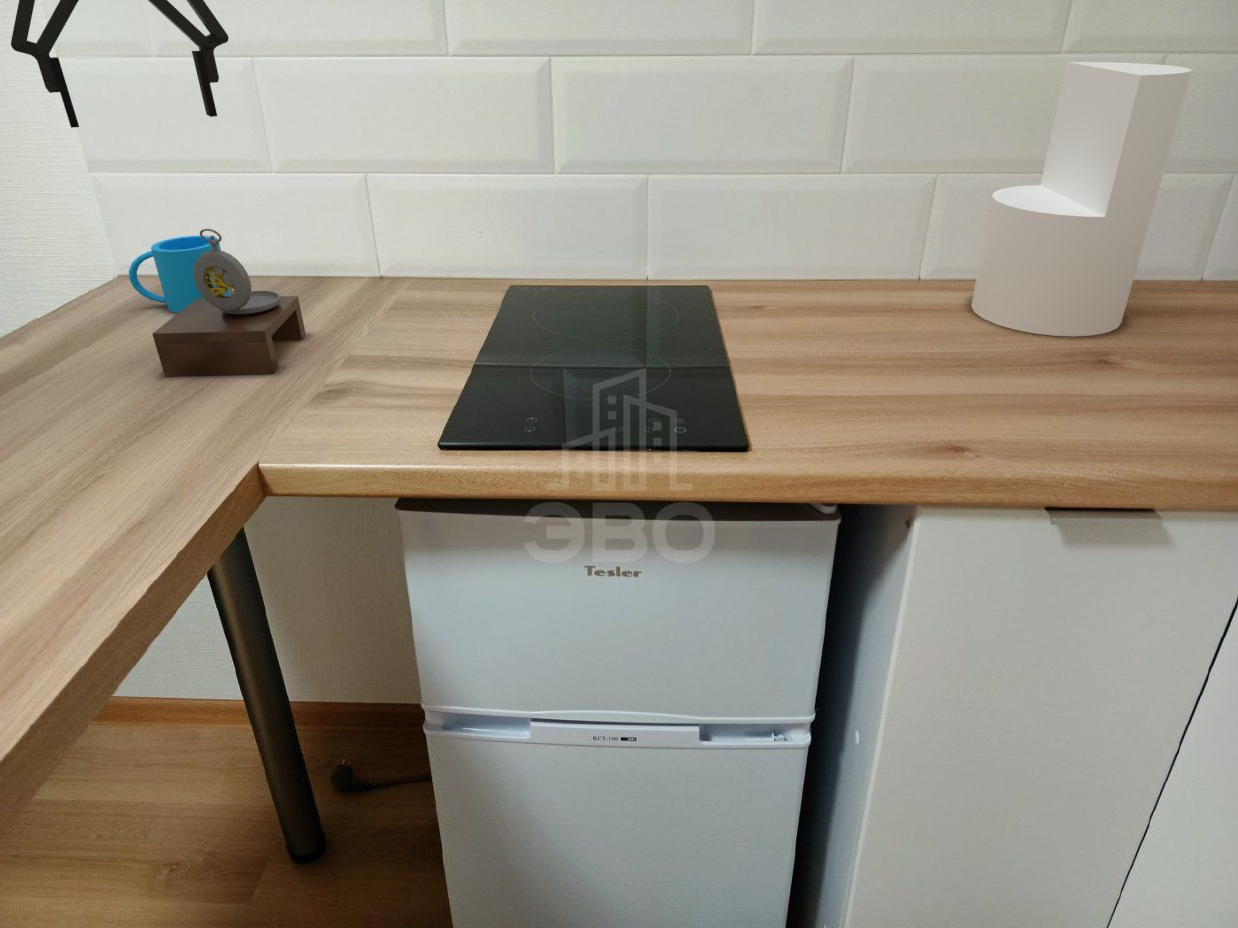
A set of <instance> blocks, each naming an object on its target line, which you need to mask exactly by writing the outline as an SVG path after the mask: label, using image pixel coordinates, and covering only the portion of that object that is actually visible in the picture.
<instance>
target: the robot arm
mask: <svg viewBox="0 0 1238 928" xmlns="http://www.w3.org/2000/svg"><path fill="white" fill-rule="evenodd" d="M79 1H80V0H59V1H58V3H57V5H56V7H55V9H54V10H53V12H52V14H51V16H50V18H49V20H48V21H47V23H46V25H45V27H44V29H43V31H42V32H41V34H40V35H39V37H38V39H37V40H36V42H33V41H30V40H28V39H29V33H30V28H31V22H32V18H33V13H34V8H35V3H36V0H18V4H17V9H16V15H15V19H14V24H13V31H12V34H11V39H10V47H11V48H12V50H13V51H15V52H17V53H21V54H25V55H29V56H32V57H33V58H34V59H35V60H36V62H37V64H38V68H39V72H40V74H41V78H42V81H43V84H44V87H45V89H46V91H47V92H48V93H50V94H51V93H60V96H61V100H62V103H63V106H64V109H65V114H66V116H67V119H68V123H69V126H70V128H71V129H73V128H74V129H75V128H80V125H79V121H78V118H77V115H76V114H77V113H76V112H75V108H74V104H73V102H72V98H71V95H70V91H69V88H68V85H67V82H66V78H65V74H64V72H63V68H62V65H61V62H60V58H59V57H58V56H55V57H54V56H53V57H51V56H50V53H51V52H52V49H53V48H54V46H55V44H56V43H57V40H58V39H59V37H60V35H61V33H62V31H63V30H64V28H65V26H66V24H67V22H68V20H69V19H70V17H71V15H72V13H73V11H74V10H75V8H76V6H77V5H78V3H79ZM147 1H148V2H149V3H150V4H151V5H152V6H153V7H154V8H155V9H156V10H157V11H159V12H160V13H161V14H162V15H163V16H164V17H165V18H166V19H168V21H169V22H171V23H172V25H174V26H175V27H176V28H177V29H178V30H179V31H181V32H182V33H183V35H185V37H187V38H188V39H189V40H190V41H191V42H192V43H193V44H195V45H196V46H197V48H198V50H191V54H192V58H193V62H194V67H195V71H196V76H197V80H198V83H199V88H200V93H201V97H202V101H203V105H204V110H205V114H206V115H207V116H209V117H210V118H212V117H213V118H214V117H218V113H217V107H216V104H215V99H214V94H213V91H212V86H211V84H214V83H219V80H220V75H219V72H218V67H217V66H218V65H217V61H216V58H215V57H216V56H215V49H216V48H217V47H220V46H222V45H224V44H227V43H228V42H229V39H230V38H229V35H228V33H227V32H226V30H225V29H224V28H223V26H222V24H221V23H220V22H219V20H218V19H217V17H216V16H215V15H214V13H213V11H212V10H211V9H210V7H209V6H208V5H207V3H206V1H205V0H186V2H187V3H188V5H189V6H190V7H191V9H192V10H193V12H194V13H195V15H196V16H197V17H198V19H199V20H200V21H201V23H202V25H203V26H204V27H205V29H206V31H208V32H209V34H206V35H205V34H204V33H203V32H202V31H201V30H200V29H199V28H198V27H197V26H196V25H195V24H193V23H192V22H191V21H190V20H189V19H188V18H187V17H186V16H185V15H184V14H182V13H181V12H180V10H178V9H177V8H176V7H175V6H174V5H173V4H172V2H170V1H169V0H147Z"/></svg>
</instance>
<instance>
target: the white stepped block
mask: <svg viewBox="0 0 1238 928" xmlns="http://www.w3.org/2000/svg"><path fill="white" fill-rule="evenodd" d="M1192 73H1193V69H1191V68H1188V67H1184V66H1177V65H1168V64H1157V63H1156V64H1155V63H1142V62H1140V63H1139V62H1117V61H1116V62H1115V61H1113V62H1112V61H1066V63H1065V69H1064V73H1063V78H1062V82H1061V86H1060V92H1059V97H1058V101H1057V106H1056V109H1055V110H1056V111H1055V115H1054V120H1053V124H1052V129H1051V134H1050V137H1049V138H1050V139H1049V142H1048V148H1047V153H1046V157H1045V161H1044V166H1043V171H1042V175H1041V180H1040V184H1032V185H1031V184H1030V185H1017V186H1009V187H1004V188H1001V189H998V190H995V191H994V192H992V195H991V199H990V205H989V206H990V207H989V209H988V210H989V211H988V216H987V221H986V226H985V231H984V238H983V241H982V248H981V253H980V257H979V262H978V268H977V274H976V280H975V284H974V289H973V295H972V301H971V306H970V307H971V309H972V311H973V313H974V314H976V315H977V316H979V317H980V318H982V319H983V320H984V321H985V320H986V321H988V322H990V323H992V324H994V325H997V326H1000V327H1004V328H1007V329H1011V330H1014V331H1019V332H1025V333H1029V334H1036V335H1044V336H1053V337H1088V336H1089V337H1091V336H1097V335H1098V336H1099V335H1103V334H1108V333H1110V332H1112V331H1114V330H1116V329H1117V330H1118V328H1119V327H1120V325H1121V324H1122V323H1123V318H1124V315H1125V311H1126V307H1127V305H1128V300H1129V297H1130V293H1131V290H1132V287H1133V284H1134V283H1133V282H1134V279H1135V275H1136V272H1137V269H1138V265H1139V261H1140V258H1141V255H1142V252H1143V247H1144V243H1145V240H1146V236H1147V233H1148V229H1149V225H1150V222H1151V218H1152V215H1153V212H1154V209H1155V204H1156V201H1157V197H1158V194H1159V190H1160V186H1161V184H1162V183H1161V182H1162V179H1163V176H1164V172H1165V169H1166V165H1167V162H1168V157H1169V155H1170V151H1171V147H1172V144H1173V141H1174V137H1175V133H1176V129H1177V126H1178V123H1179V119H1180V114H1181V112H1182V109H1183V104H1184V100H1185V97H1186V94H1187V90H1188V86H1189V83H1190V80H1191V77H1192Z"/></svg>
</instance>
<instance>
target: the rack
mask: <svg viewBox="0 0 1238 928" xmlns="http://www.w3.org/2000/svg"><path fill="white" fill-rule="evenodd" d="M306 335H307V333H306V329H305V323H304V319H303V314H302V309H301V303H300V300H299V295H282V296H281V295H280V303H279V304H278V305H277V306H275V307H273V308H271V309H269V310H266V311H262V312H258V313H252V314H229V313H225V312H222V311H221V310H220V309H219V308H216V307H215V306H213V305H212V304H210V303H209V302H208V301H207V300H206V299H205V298H197V299H196V300H194V301H193V302H192V303H191V304H189V305H188V306H187V307H186V308H184V309H183V310H182V311H180V312H179V313H176V314H175V315H174V316H173V317H171V318H170V319H169V320H167V321H166V322H165V323H164V324H163V325H161V326H160V327H159V328H157V329H156V330H155V331H153V332H152V338H153V342H154V344H155V348H156V352H157V353H158V354H157V355H158V359H159V362H160V365H161V368H162V371H163V375H164V377H192V376H194V377H196V376H199V377H200V376H231V375H232V376H233V375H234V376H235V375H236V376H237V375H239V376H240V375H274V374H276V372H277V371H278V370H279V364H278V359H277V354H276V350H275V346H274V342H275V341H303V340H304V338H305V337H306Z"/></svg>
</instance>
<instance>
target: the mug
mask: <svg viewBox="0 0 1238 928" xmlns="http://www.w3.org/2000/svg"><path fill="white" fill-rule="evenodd" d="M203 236H204V237H205V238H206V239H207V240H209V239H211V238H210V236H211V235H203ZM214 239H217V240H219V237H216V236H215V238H214ZM217 248H218V250H220V251H222V248H221V244H220V243H219V244H218V245H217ZM210 250H213V248H212V245H210V244H209V243H208V242H207V241H205V240H204V239H203V238H202V237H201V236H200V235H187V236H186V235H185V236H179V237H173V238H168V239H164V240H160V241H158V242H154V244H152V245H151V247H150V250H149V251H146V252H144V253H141V254H139V255H138V256H137V257H136V258H135V259H134V260H133V261H132V262H131V264H130V267H129V269H128V280H129V282H130V284H131V285H132V288H133V289H134V290H135V291H136V292H137V293H138V294H140V296H143V297H145V298H147V299H148V300H149V301H154V302H158V303H161V304H163V303H164V304H166V305H167V306H166V307H167V310H169V311H170V312H172V313H175V314H178V313H179V312H180V311H182V310H183V309H184V308H186V307H187V306H188V305H189V304H191V303H192V302H193V301H194V300H196V299H197V298H204V297H203V296H202V295H201V293H200V291H199V290H198V288H197V286H196V283H195V279H194V272H193V271H194V265H195V262H196V261H197V259H198V258H199V257H200V256H201V255H202V254H203V253H205V252H207V251H210ZM150 258H153V261H154V264H155V268H156V271H157V275H158V278H159V281H160V285H161V289H162V293H163V296H162V295H158V294H154V293H153V292H152V291H149V290H147V289H146V288H145V287H144V286H143V285H142V284H141V282H140V280H139V279H138V270H139V268H140V266H141V264H142V263H143V262H144V261H146V260H149V259H150ZM210 273H211V271H210ZM213 273H214V272H213ZM214 274H215V273H214ZM210 278H211V279H212V280H213V278H212V277H211V275H210ZM211 279H210V280H211ZM216 279H217V278H216ZM212 280H211V281H212ZM214 281H215V280H214ZM225 284H226V283H225ZM214 285H215V284H213V286H214ZM217 287H219V286H217ZM214 288H216V286H214ZM227 289H228V288H227ZM229 289H230V288H229ZM229 289H228V290H229ZM218 291H220V290H218ZM223 295H224V296H225V295H226V296H230V295H231V290H230V291H227V292H225V294H224V293H223Z"/></svg>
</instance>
